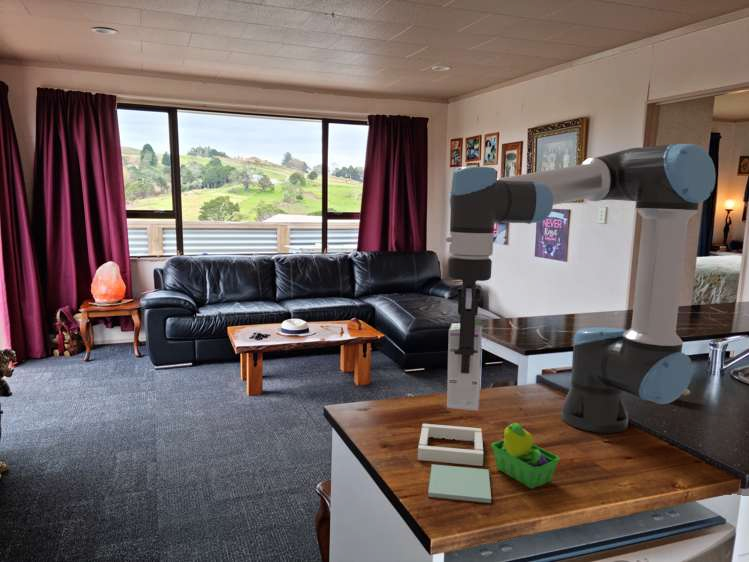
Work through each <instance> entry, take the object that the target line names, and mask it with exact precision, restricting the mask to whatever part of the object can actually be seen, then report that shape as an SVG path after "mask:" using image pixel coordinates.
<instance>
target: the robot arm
mask: <svg viewBox="0 0 749 562" xmlns="http://www.w3.org/2000/svg"><path fill="white" fill-rule="evenodd" d="M497 176H498V175H497V169H495V168H494V167H490V166H460V167H457V168H455V170H453V173H452V179H451V188H450V196H449V207H450V220H449V227H450V228H449V232H450V233H449V235H450V236H447V237H446V238H445V242H446V243H449V247H448V249H449V250H448V253H449V254H450V255H452V256H450V257H449V258H448V265H447V276H448V278H449V279H451V280H456V281H462V284H461V287H457V290H456V291H457V292H456V298H457V301H458V302H457V314H458V315H459V318H460V319H459V323H460V338H459V348H458V351H454V354H458V361H457V383H456V390H465V391H472V377H473V357H474V332H475V324H476V316H477V315H478V313H479V301H480V299H481V290H480V288H476V285H477V284H476V283H477V282H484V281H485V282H486V281H489V280H490V279H491V277H492V263H493V261H492V260H491V258H490V257H491V256H492V255H493V252H494V231H495V230H494V228H495V223H496V224H497V223H507V224H509V223H510V224H528V225H531V224H535V223H537V224H538V223H542V222H543V221H545V220H547V219H548V218H549V216H550V215H551V213H552V211H553V207H554V206H555V205H560V204H566V203H571V202H576V201H581V200H587V201H590V202H598V201H599V202H600V201H612V200H613V201H623V202H624V201H625V202H626V201H627V202H635V211H636V212H637V213H638V214H639V215H640V216H641V218H642V222H641V228H640V229H641V230H640V231H641V232H640V242H639V248H638V249H639V251H638V260H637V269H636V277H635V288H634V297H633V298H634V300H633V309H632V317H631V318H632V319H631V327H630V328H629V329H628V330H627V329H625V328H622V327H620V328H619V327H607V326H606V327H605V326H597V327H596V326H595V327H584V328H579V329H578V330H577V331H576V332H575V334H574V342H573V344H572V360H571V361H572V363H571V364H572V365H571V379H570V381H571V382H570V388H569V391H568V392H567V394H566V397H565V399H564V401H563V403H562V406H561V413H560V414H561V415H560V417H561V420H563V422H565V423H566V424H567V425H570V426H572V427H573V428H574V427H575V428H576V429H580V430H583V431H588V432H591V433H593V432H594V433H598V434H599V433H601V434H613V433H619V432H620V433H621V432H623V431H625V430H626V429H628V425H629V416H628V411H627V407H626V404H625V399H624V396H623V395H624V394H623V392H625V393H627V394H630V395H632V396H633V395H634V396H636V397H638V398H641V400H643V401H649V402H653V403H656V404H658V405H659V404H660V405H665V404H670V403H672V402H675V401H676V400H677V399H678V398H680V397H681V396H682V395H681V394H682V393H683V392H684V391H685V390H686V388H687V389H688V386H689V385H690V383H691V381H692V377H693V371H694V370H693V369H694V366H693V362H692V359H691V358H690V357H689V356H688V355H687V354H686V353H685V352H682V350H683V340H682V339H681V338H680V337H679V335H678V334H677V324H678V323H677V322H678V314H679V305H680V296H681V288H682V279H683V268H684V262H685V261H684V260H685V252H686V244H687V235H688V234H687V233H688V225H689V220H690V219H691V218H692V217H693V216H694V215H695V214H697V213H698V211H699V204H700V203H701V202H705V201H706V200H707V199H709V197H710V196H711V193H713V191H714V188H715V184H716V168H715V164H714V162H713V159H712V157H711V156H710V154H709V153H708V152H707V150H706V149H705V148H704V147H702V146H700V145H697V144H694V143H672V144H663V145H653V146H644V147H632V148H627V149H624V150H619V151H616V152H612V153H609V154H604V155H601V156H598V157H591V158H587V159H585V160H584V161H582V163H581V164H577V165H571V166H564V167H559V168H554V169H553V168H552V169H547V170H541V171H536V172H529V173H523V174H517V175H512V176H505V177H500V178H498V177H497Z"/></svg>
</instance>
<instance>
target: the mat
mask: <svg viewBox="0 0 749 562" xmlns="http://www.w3.org/2000/svg"><path fill="white" fill-rule="evenodd" d="M490 480H491V479H490V470H489V469H486V468H476V467H475V468H474V467H465V466H454V465H453V466H452V465H445V464H444V465H443V464H432V463H431V468H430V475H429V484H428V491H427V492H428V493H427V496H428V498H429V497H430V498H438V499H447V500H457V501H468V502H477V503H485V504H487V503H488V504H491V503H492V493H491V492H492V491H491V482H490Z"/></svg>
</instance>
